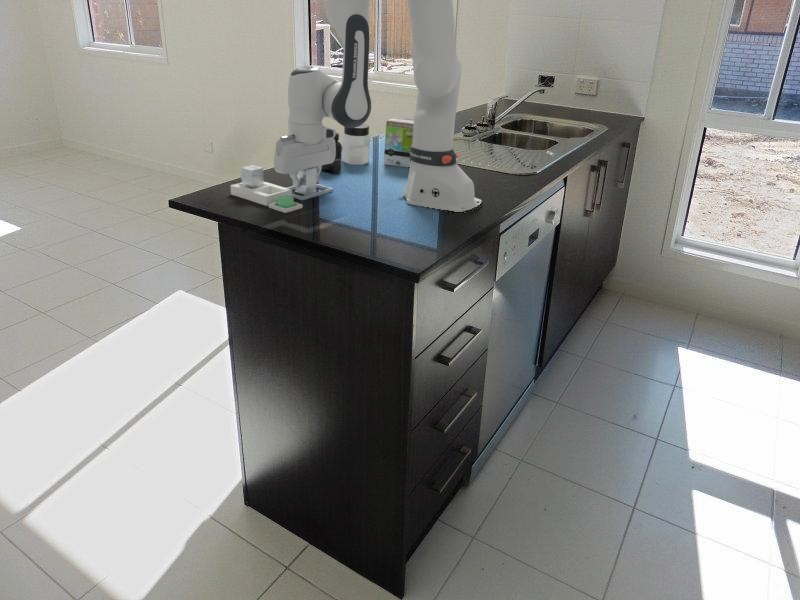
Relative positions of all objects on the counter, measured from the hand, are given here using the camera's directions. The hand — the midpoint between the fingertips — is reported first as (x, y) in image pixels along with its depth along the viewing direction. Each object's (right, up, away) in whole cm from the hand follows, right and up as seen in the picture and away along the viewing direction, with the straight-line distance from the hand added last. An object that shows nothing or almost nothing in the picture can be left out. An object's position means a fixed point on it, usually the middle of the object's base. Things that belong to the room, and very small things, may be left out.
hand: (305, 184), depth 171 cm
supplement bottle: (+4, +9, +26) cm, 28 cm away
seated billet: (-14, -3, -3) cm, 14 cm away
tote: (0, -3, +1) cm, 3 cm away
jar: (+11, +15, +40) cm, 44 cm away
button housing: (-3, -9, -12) cm, 15 cm away
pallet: (-11, -5, -5) cm, 13 cm away
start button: (-3, -9, -12) cm, 15 cm away
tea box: (+29, +14, +41) cm, 52 cm away
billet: (0, -2, +1) cm, 2 cm away
